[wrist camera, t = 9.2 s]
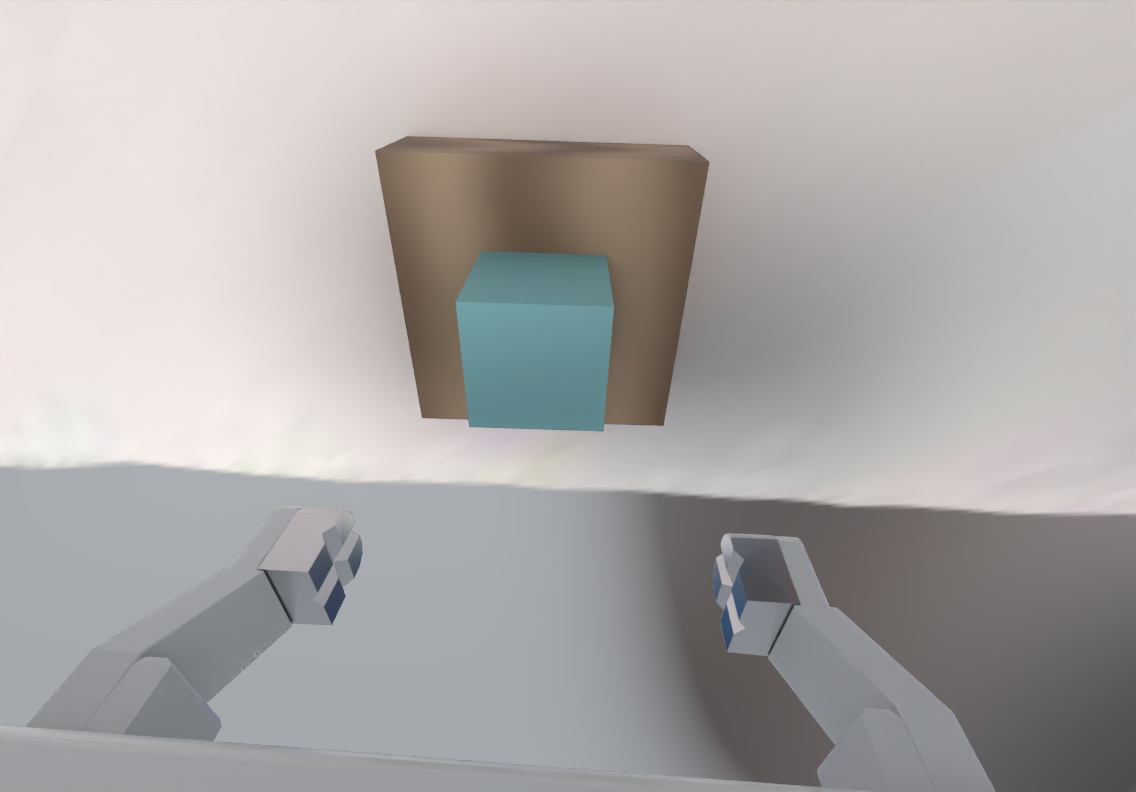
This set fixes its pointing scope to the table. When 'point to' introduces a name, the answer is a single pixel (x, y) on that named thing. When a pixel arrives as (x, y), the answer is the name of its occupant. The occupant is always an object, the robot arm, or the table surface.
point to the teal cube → (536, 340)
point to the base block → (545, 246)
